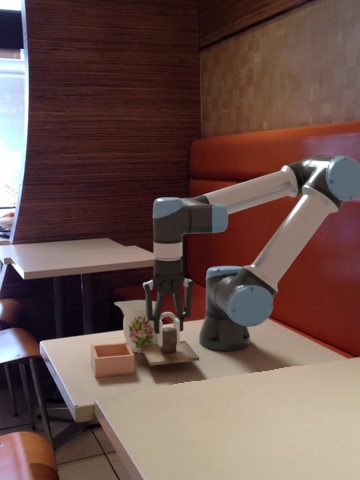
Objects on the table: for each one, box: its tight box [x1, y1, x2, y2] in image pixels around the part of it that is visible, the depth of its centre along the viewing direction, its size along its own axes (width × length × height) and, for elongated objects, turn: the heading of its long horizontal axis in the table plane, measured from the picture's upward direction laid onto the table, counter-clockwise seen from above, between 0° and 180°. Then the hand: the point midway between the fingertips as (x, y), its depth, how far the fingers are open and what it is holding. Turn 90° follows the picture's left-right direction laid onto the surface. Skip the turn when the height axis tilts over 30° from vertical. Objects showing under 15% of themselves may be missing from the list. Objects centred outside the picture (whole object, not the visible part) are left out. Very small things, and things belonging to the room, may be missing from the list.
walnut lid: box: [140, 326, 200, 366], centre depth 157 cm, size 13×13×7 cm
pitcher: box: [114, 299, 177, 354], centre depth 169 cm, size 11×18×14 cm, turn 92°
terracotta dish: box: [90, 342, 135, 378], centre depth 155 cm, size 10×10×5 cm
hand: (168, 343), depth 157 cm, fingers closed on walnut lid, 4 cm apart
